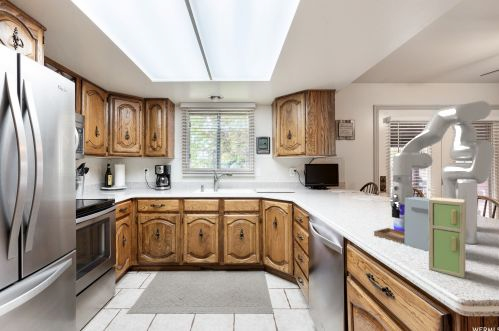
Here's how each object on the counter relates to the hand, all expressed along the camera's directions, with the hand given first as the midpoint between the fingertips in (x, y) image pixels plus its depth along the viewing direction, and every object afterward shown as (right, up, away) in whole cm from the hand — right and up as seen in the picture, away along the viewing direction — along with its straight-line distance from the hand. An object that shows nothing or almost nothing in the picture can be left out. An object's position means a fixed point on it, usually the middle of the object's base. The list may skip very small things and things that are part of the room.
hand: (401, 216), depth 108 cm
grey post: (+17, -7, -13) cm, 23 cm away
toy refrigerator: (-12, -8, -39) cm, 41 cm away
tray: (-9, -7, -8) cm, 14 cm away
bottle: (0, -7, 0) cm, 7 cm away
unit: (-4, -7, -20) cm, 22 cm away
